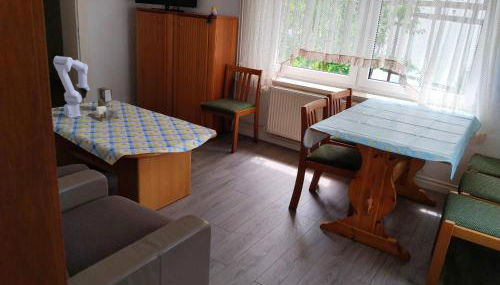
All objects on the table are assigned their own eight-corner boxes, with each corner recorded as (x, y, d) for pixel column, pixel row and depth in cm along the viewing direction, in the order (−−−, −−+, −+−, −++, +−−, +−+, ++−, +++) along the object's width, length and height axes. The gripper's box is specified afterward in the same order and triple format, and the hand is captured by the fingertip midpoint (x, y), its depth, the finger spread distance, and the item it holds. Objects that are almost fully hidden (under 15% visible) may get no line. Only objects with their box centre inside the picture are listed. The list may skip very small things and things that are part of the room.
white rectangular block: (95, 115, 274) (95, 108, 272) (93, 114, 276) (92, 107, 274) (106, 113, 280) (106, 106, 279) (104, 112, 282) (103, 106, 280)
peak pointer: (99, 117, 270) (99, 114, 269) (99, 117, 270) (99, 114, 269) (102, 117, 271) (102, 113, 271) (102, 117, 272) (101, 113, 271)
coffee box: (112, 109, 297) (112, 89, 292) (105, 111, 292) (104, 90, 287) (104, 107, 302) (104, 87, 296) (97, 108, 296) (96, 88, 291)
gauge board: (102, 121, 268) (101, 113, 266) (88, 115, 278) (87, 107, 276) (118, 118, 278) (118, 110, 276) (104, 112, 288) (104, 104, 286)
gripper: (93, 81, 280) (94, 99, 285) (82, 77, 289) (83, 95, 293) (84, 82, 275) (85, 100, 280) (73, 78, 283) (74, 96, 288)
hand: (83, 98), depth 286 cm, fingers closed
